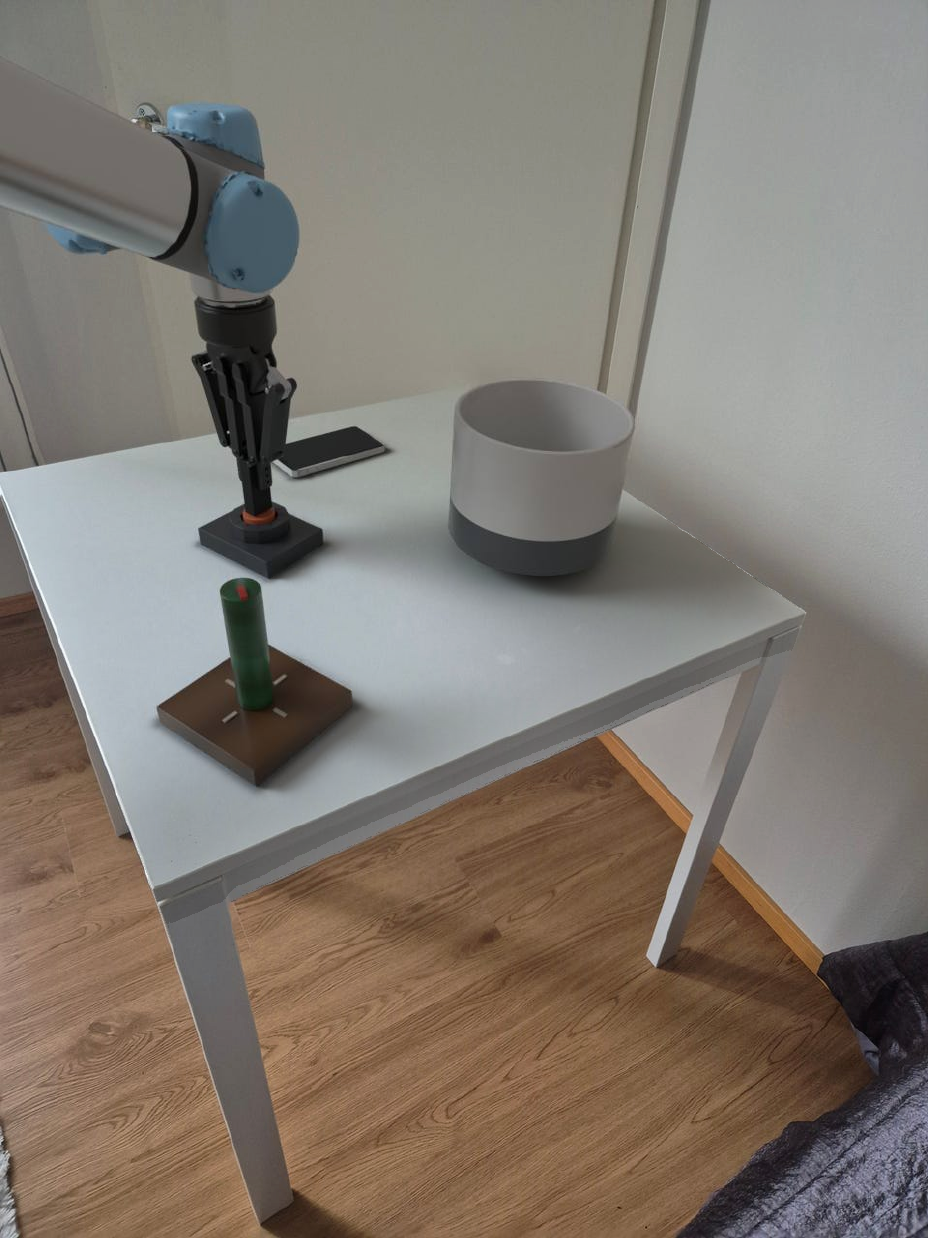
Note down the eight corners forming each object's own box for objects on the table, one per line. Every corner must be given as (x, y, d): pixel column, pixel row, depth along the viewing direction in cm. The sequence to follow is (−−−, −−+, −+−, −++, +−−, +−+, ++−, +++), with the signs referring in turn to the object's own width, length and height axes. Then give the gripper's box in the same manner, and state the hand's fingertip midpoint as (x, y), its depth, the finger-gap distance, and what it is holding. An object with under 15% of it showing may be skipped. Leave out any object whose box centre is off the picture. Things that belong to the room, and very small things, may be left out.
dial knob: (233, 690, 72) (215, 578, 64) (269, 682, 73) (255, 571, 65) (241, 714, 69) (223, 601, 62) (278, 705, 70) (264, 593, 63)
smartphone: (386, 445, 114) (294, 471, 106) (386, 452, 115) (294, 480, 106) (354, 424, 118) (263, 448, 110) (354, 432, 119) (264, 456, 111)
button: (237, 525, 92) (235, 512, 91) (260, 513, 94) (259, 500, 93) (259, 536, 90) (258, 523, 89) (282, 523, 93) (281, 510, 92)
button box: (200, 544, 93) (195, 514, 91) (257, 513, 99) (254, 485, 97) (268, 578, 89) (264, 548, 86) (323, 544, 95) (321, 515, 92)
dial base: (159, 723, 71) (155, 705, 69) (259, 653, 79) (257, 636, 77) (256, 787, 66) (253, 769, 64) (352, 706, 74) (351, 689, 72)
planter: (496, 615, 86) (512, 466, 75) (420, 527, 99) (424, 389, 88) (640, 575, 93) (673, 435, 82) (551, 498, 107) (570, 368, 96)
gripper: (311, 302, 76) (324, 515, 91) (217, 273, 82) (243, 479, 96) (253, 320, 71) (276, 543, 86) (156, 288, 77) (194, 503, 91)
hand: (258, 509), depth 91 cm, fingers closed
